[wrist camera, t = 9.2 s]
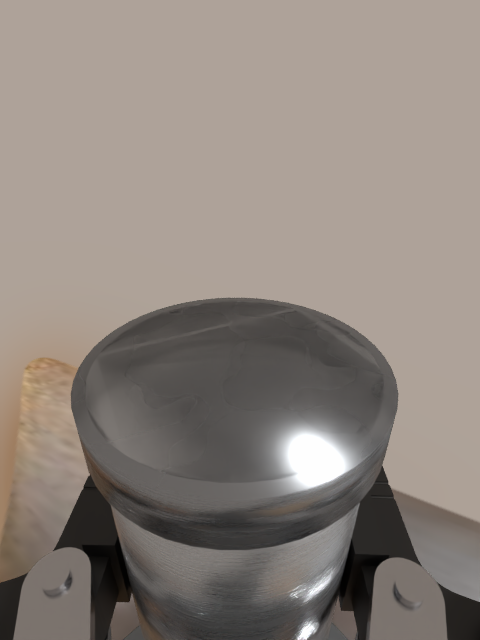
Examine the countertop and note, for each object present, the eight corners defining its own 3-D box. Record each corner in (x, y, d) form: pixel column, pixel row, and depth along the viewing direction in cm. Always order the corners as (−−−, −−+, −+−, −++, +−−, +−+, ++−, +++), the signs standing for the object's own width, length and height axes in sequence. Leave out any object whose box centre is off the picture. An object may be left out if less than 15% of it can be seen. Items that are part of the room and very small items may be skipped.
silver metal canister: (242, 548, 16) (246, 280, 10) (354, 675, 12) (457, 370, 6) (122, 655, 13) (25, 354, 7) (225, 869, 9) (203, 612, 3)
